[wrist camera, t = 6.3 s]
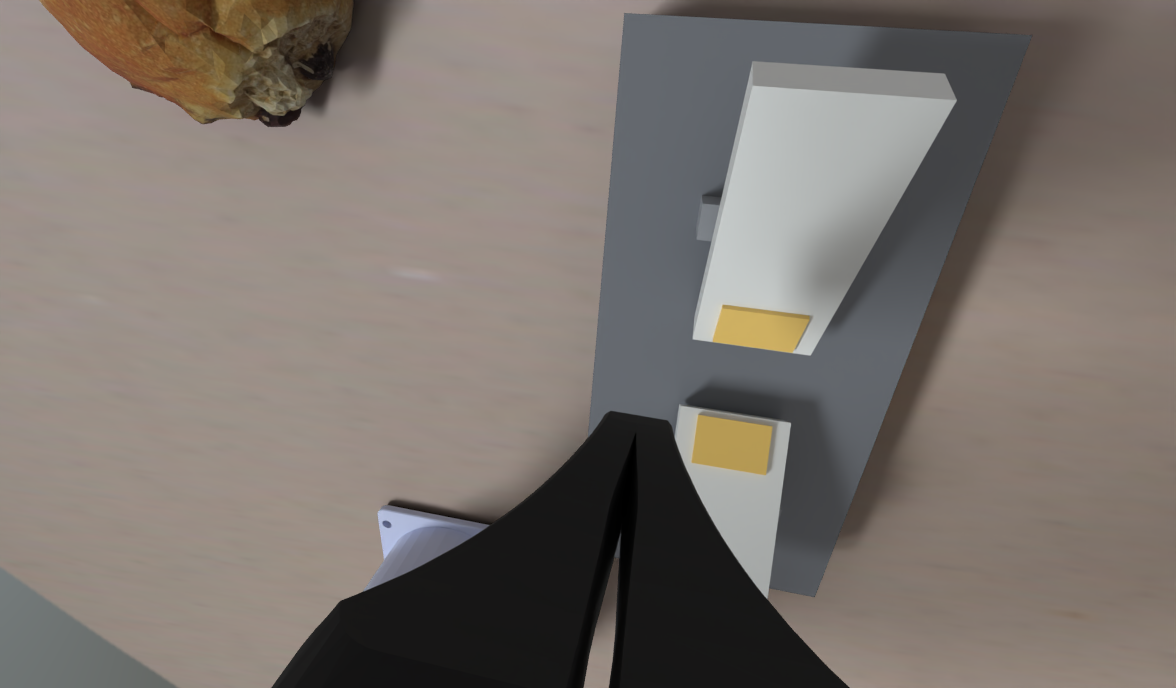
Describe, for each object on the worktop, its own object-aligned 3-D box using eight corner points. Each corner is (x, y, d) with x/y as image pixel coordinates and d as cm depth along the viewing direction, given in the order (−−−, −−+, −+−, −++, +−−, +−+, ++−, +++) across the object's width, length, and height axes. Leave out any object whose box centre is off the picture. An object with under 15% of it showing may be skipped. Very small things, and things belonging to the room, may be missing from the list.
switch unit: (807, 551, 23) (828, 631, 20) (588, 509, 24) (571, 578, 21) (987, 47, 14) (1084, 26, 11) (633, 26, 16) (617, 2, 12)
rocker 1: (752, 652, 17) (759, 671, 16) (647, 629, 18) (647, 646, 17) (783, 419, 18) (792, 423, 16) (679, 403, 18) (680, 406, 17)
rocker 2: (808, 330, 16) (810, 359, 15) (694, 315, 17) (692, 343, 16) (944, 73, 10) (959, 104, 9) (752, 60, 10) (752, 89, 10)
